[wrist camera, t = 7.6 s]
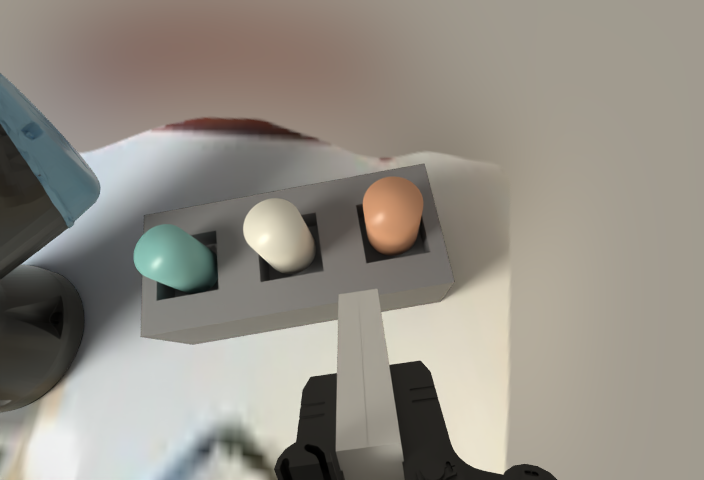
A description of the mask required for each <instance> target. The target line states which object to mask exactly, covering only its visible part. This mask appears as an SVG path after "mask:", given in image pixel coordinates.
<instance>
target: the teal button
mask: <svg viewBox="0 0 704 480" xmlns="http://www.w3.org/2000/svg"><path fill="white" fill-rule="evenodd" d="M134 263H135V266H136V268H137V270H138V271H139V272H140V273H141V274H142V275H143V276H145V277H148V278H150V279H153V280H155V281H158V282H160V283H163V284H165V285H168V286H170V287H173V288H175V289H178V290H180V291H183V292H185V293H188V294H197V293H203V292H205V291H207V290H209V289H210V288H211V287H213V285H214V284H215V283H216V282H217V280H218V262H217V254H216V253H215V252H214V251H212V250H211V249H209V248H208V247H206V246H205V245H203V244H202V243H201V242H199V241H198V240H196V239H195V238H193V237H192V236H191V235H189V234H188V233H186V232H185V231H183V230H182V229H181V228H179V227H177V226H175V225H171V224H163V225H158V226H155V227H153V228H151V229H150V230H148V231H147V232H146V233H144V234H143V235H142V237H141V238H140V239H139V241H138V242H137V244H136V247H135V250H134Z"/></svg>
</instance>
